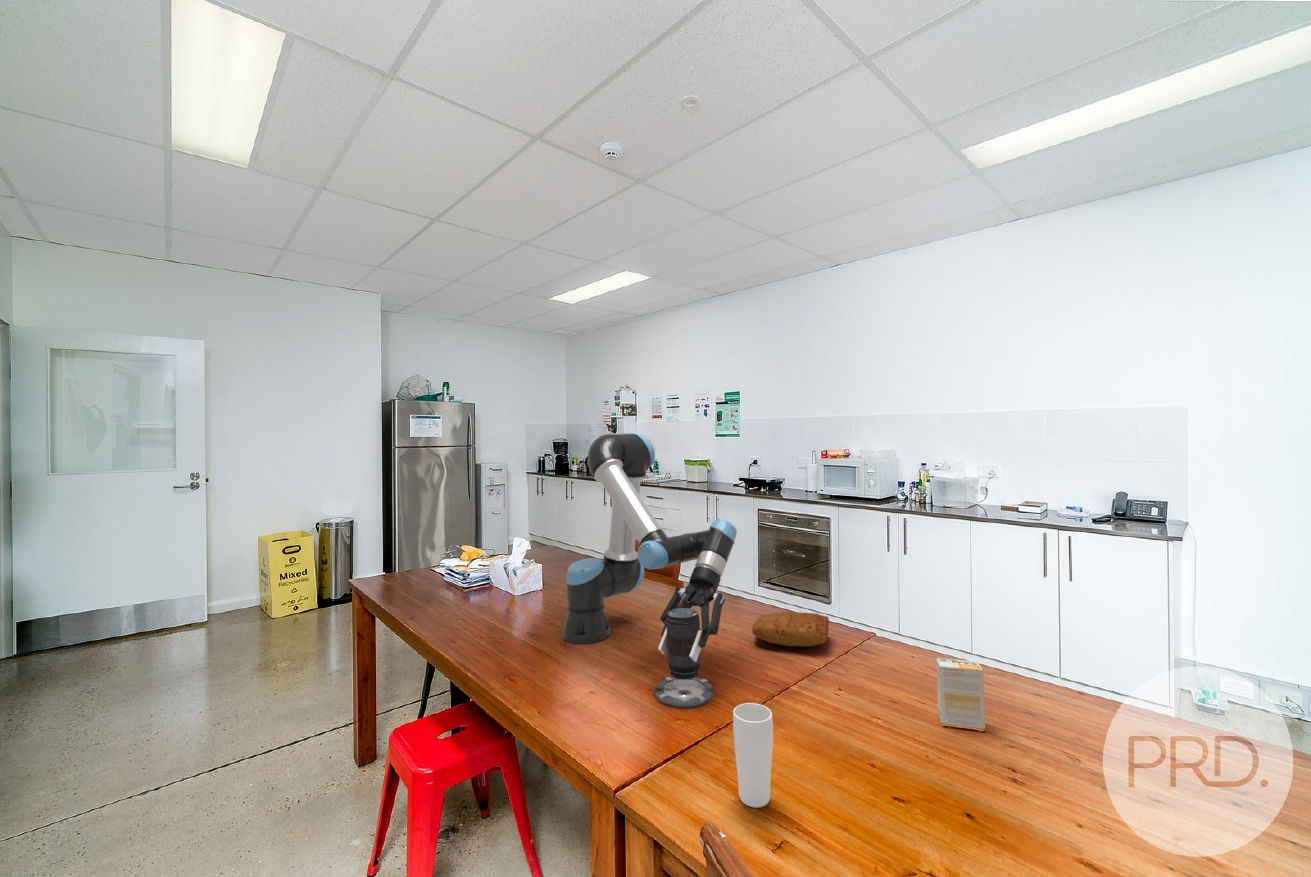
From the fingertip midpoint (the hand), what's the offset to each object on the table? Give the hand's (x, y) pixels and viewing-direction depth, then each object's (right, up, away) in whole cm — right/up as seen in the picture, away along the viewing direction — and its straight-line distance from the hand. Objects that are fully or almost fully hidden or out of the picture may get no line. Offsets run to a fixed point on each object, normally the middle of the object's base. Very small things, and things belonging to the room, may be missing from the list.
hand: (676, 655), depth 127 cm
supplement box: (+60, -10, -13) cm, 62 cm away
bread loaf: (+36, -10, +33) cm, 50 cm away
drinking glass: (+12, -11, -35) cm, 39 cm away
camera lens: (+2, -6, +3) cm, 7 cm away
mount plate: (+2, -11, +3) cm, 11 cm away
